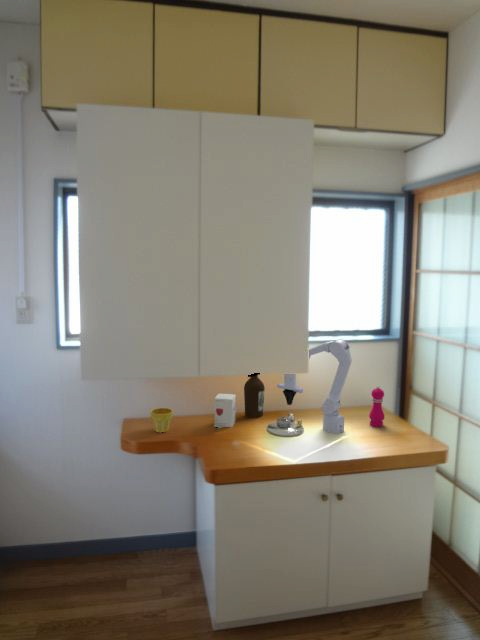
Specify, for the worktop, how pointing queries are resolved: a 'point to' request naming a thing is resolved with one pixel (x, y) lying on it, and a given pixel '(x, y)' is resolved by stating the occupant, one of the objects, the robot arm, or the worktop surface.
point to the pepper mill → (377, 408)
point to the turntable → (286, 429)
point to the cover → (283, 422)
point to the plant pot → (161, 419)
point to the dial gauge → (291, 417)
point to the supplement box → (224, 410)
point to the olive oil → (254, 397)
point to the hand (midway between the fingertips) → (289, 404)
